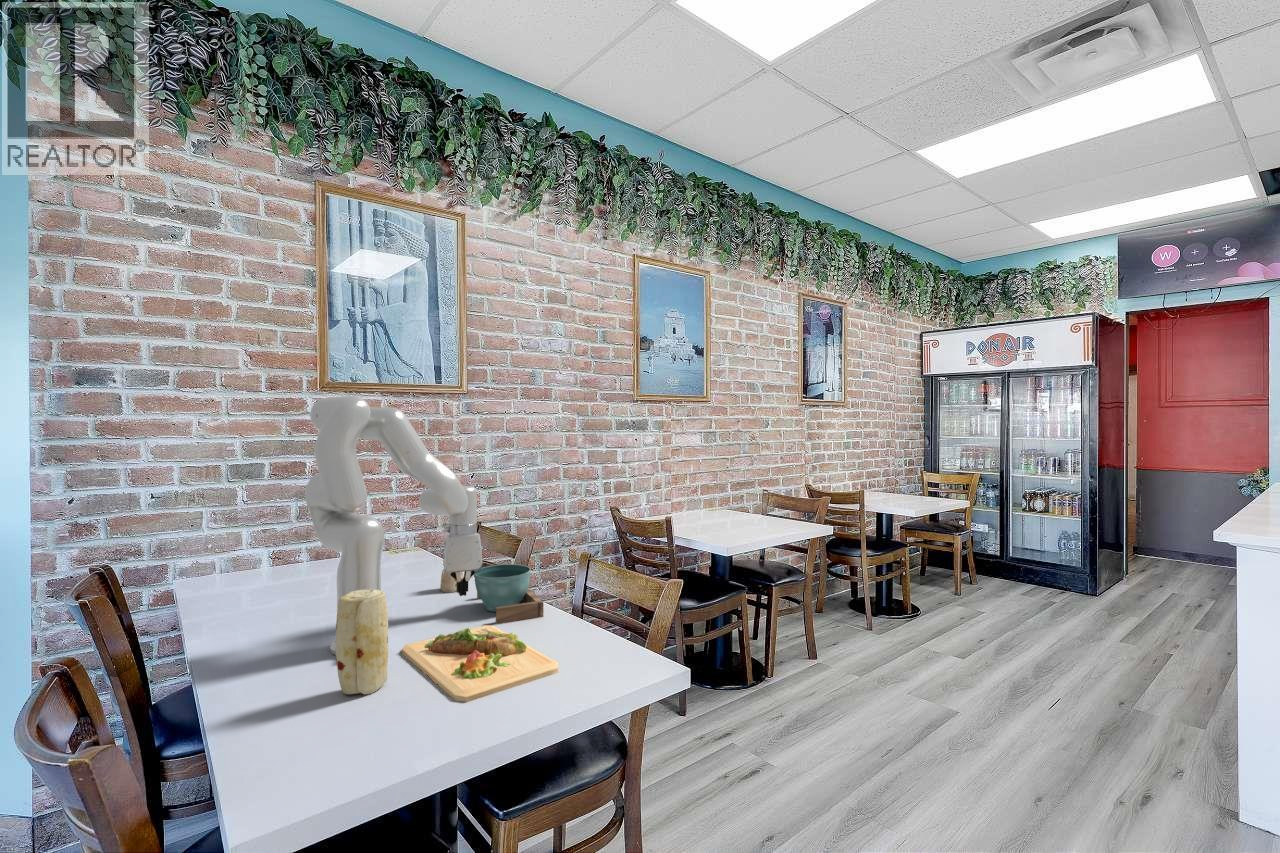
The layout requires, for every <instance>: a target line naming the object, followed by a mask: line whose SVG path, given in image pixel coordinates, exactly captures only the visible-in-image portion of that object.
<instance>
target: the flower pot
mask: <svg viewBox="0 0 1280 853" xmlns="http://www.w3.org/2000/svg"><path fill="white" fill-rule="evenodd" d="M481 568H482V571H481V572H479V573H476V574H474V575H473V577H474V584H475V589H476V593H477V592H478V595H479V597H480V598H481V599H480V600H481V601H482V602H483V604H484V605H485V609H486V610H487V611H489V612H495V613H496V607H501V606H508V605H515V604H521V602H522V601H521V600H522V599H523V597H524V595H525V594H526V591H527V589H529V585H530V579H531V571H532V570H531V567H529V566H527V565H523V564H514V563H513V564H511V563H510V564H505V563H504V564H494V565H489V566H484V567H483V566H482V567H481Z"/></svg>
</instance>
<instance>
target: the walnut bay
mask: <svg viewBox="0 0 1280 853" xmlns="http://www.w3.org/2000/svg"><path fill="white" fill-rule="evenodd" d="M476 598H477V600H481V598H480V597H479V595H478V592H477V591H476ZM520 602H521V603H520V604H515V605H508V606H501V607H496V612H495V623H496V624H497V625H498V624H504V623H512V622H518V621H525V620H530V619H536V618H543V617H544V601H543V600H541V599H540V598H539V597H538V596H537V595H536V594H535V593H534V592H533V591H531V590H530V589H529V588H528V589H527V591H526V594H525V595H524V597H523V599H522V600H521V601H520Z"/></svg>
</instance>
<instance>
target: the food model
mask: <svg viewBox="0 0 1280 853" xmlns="http://www.w3.org/2000/svg"><path fill="white" fill-rule="evenodd" d="M335 625H336V626H335V641H336V655H335V656H336V668H337V675H338V676H337V677H338V681H339V685H340V688H341V692H342V693H343V694H345V695H355V694H362V695H370V694H373V693H375V692H377V691H378V690H379V689H380V688H382V687H383V686H384V684H385V683H386V682H387V680H388V676H389V675H388V674H389V673H388V666H389V663H388V662H389V660H388V659H389V619H388V609H387V598H386V593H385V592H384V591H383V590H381V591H380V590H357V591H353V592H350V593H348V594H346V595H344V596H342V597H341V598H340V599H339V601H338V609H337V608H336V624H335Z"/></svg>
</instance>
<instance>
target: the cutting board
mask: <svg viewBox="0 0 1280 853" xmlns="http://www.w3.org/2000/svg"><path fill="white" fill-rule="evenodd" d="M401 654H402V655H403V656H404V657H405V658H406V659H408V660H409V661H410V662H411V663H412V664H413V665H414V666H416V667H417V668H418V669H419V670H420V671H421V670H422V671H423V672H422V671H421V672H422V673H423V674H424V675H425V676H427V675H428V676H429V677H430V678H431V679H430V678H429V677H428V676H427V677H428V678H429V679H430V680H432V681H433V683H435V682H436V683H435V684H436V685H437V684H438V685H439V686H438V685H437V686H438V687H439V688H440V689H442V690H443V691H444V693H446V694H447V695H449V696H450V697H451V698H452V699H453V700H455V701H458V702H466V703H469V702H472V701H475V700H478V699H481V698H484V697H487V696H490V695H494V694H496V693H499V692H503V691H505V690H509V689H512V688H515V687H519V686H521V685H524V684H528V683H531V682H533V681H536V680H540V679H543V678H546V677H549V676H552V675H556V674H558V673H559V662H558V661H556V660H554V659H552V658H551V657H549V656H547V655H545V654H544V653H542V652H541V651H538V650H536V649H535V648H533V647H531V646H529V645H528V644H526V643H525V642H523V641H522V640H519V638H518V635H517V634H515V633H513V632H510V633H507V632H506V631H503V630H502V629H499V627H496V626H495V625H488V624H487V625H486V624H484V625H482V626H477V627H472V628H471V626H468V627H466V628H465V627H463V628H461V629H460V630H458V631H456V632H453V633H449V634H439V635H437V636H436V637H432V638H427V639H424V640H419V641H415V642H412V643H407V644H404V645H403V647H402V648H401Z"/></svg>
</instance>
